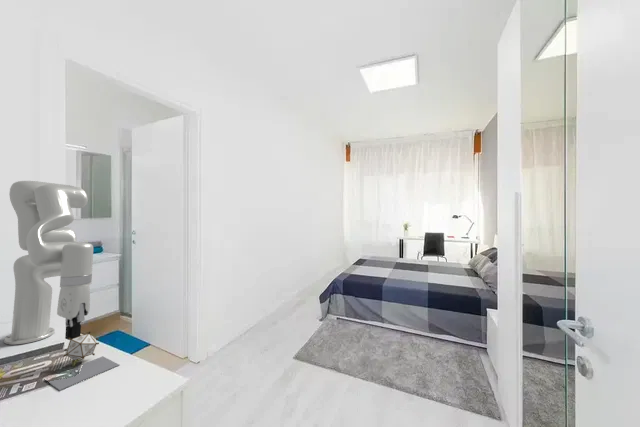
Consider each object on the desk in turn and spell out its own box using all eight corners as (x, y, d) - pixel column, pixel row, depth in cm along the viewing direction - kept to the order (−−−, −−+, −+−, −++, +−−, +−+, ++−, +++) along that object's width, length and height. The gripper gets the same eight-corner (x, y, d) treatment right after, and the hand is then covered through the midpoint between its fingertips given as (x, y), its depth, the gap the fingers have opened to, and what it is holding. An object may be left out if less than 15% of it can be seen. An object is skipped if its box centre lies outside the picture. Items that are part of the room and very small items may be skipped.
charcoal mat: (43, 379, 72) (43, 378, 72) (102, 357, 85) (102, 356, 85) (59, 391, 68) (59, 389, 68) (119, 365, 80) (119, 364, 81)
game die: (73, 362, 84) (107, 354, 86) (51, 369, 76) (89, 361, 78) (74, 333, 86) (108, 326, 88) (53, 337, 78) (91, 330, 80)
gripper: (50, 280, 83) (46, 337, 82) (72, 285, 77) (68, 347, 76) (79, 276, 90) (76, 329, 89) (102, 280, 83) (98, 337, 82)
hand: (72, 337), depth 82 cm, fingers closed
